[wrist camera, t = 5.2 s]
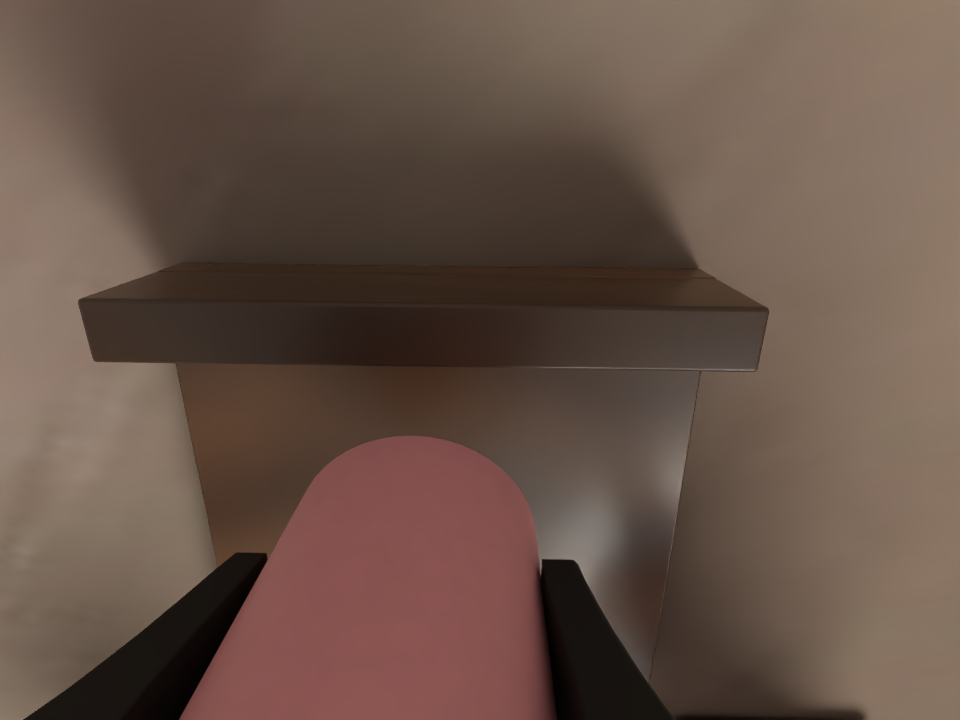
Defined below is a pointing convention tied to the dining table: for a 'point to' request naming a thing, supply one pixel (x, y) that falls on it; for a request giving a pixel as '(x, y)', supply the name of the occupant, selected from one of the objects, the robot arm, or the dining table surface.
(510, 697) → the yogurt pot
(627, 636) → the serving board
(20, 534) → the dining table surface
